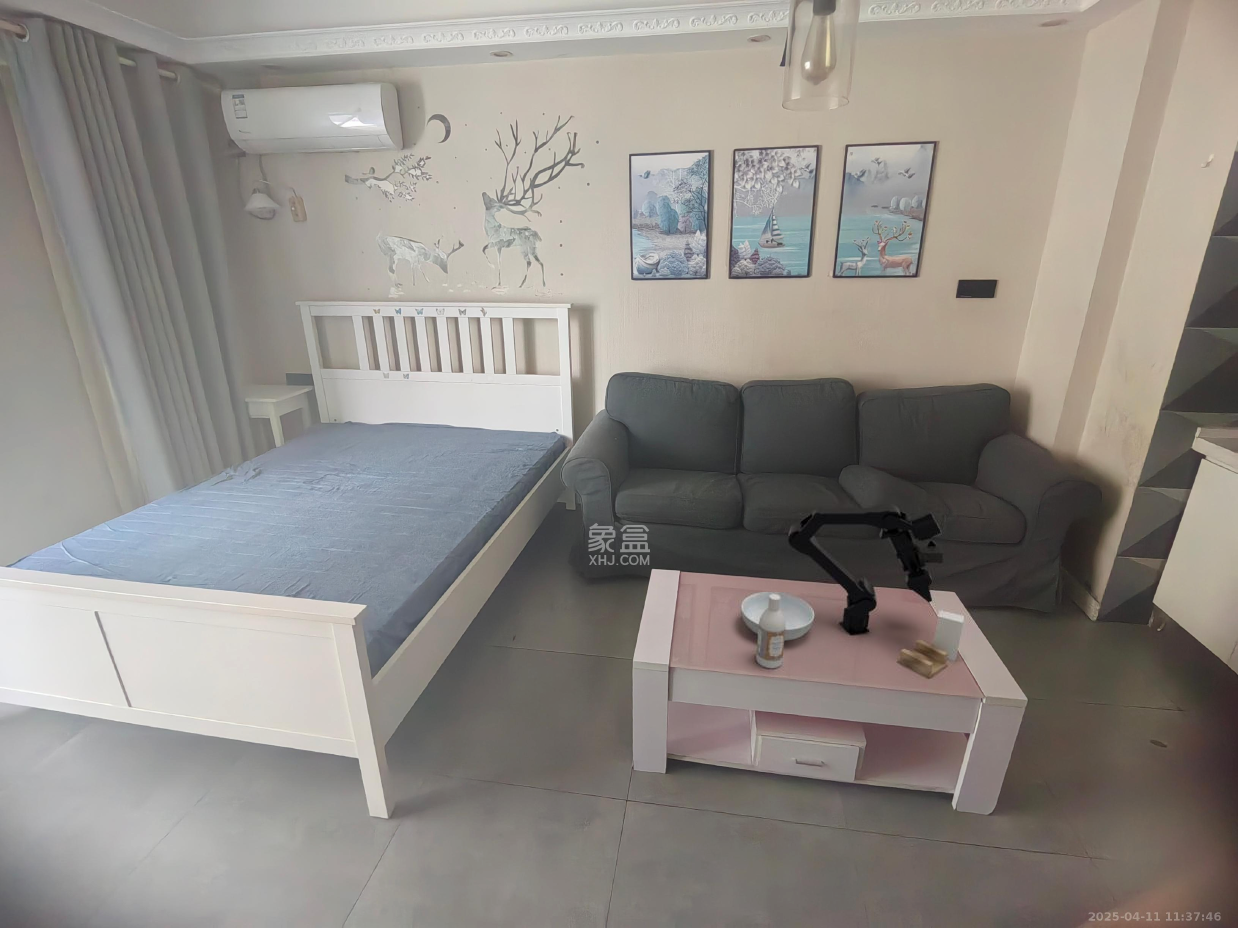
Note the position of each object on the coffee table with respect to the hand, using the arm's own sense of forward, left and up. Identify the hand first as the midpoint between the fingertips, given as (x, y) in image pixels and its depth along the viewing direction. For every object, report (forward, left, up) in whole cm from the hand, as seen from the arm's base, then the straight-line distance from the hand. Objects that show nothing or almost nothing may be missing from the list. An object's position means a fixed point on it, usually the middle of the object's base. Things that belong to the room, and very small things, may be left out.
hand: (928, 593), depth 173 cm
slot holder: (-7, -10, -15) cm, 20 cm away
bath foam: (-47, 0, -15) cm, 50 cm away
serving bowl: (-38, +14, -15) cm, 44 cm away
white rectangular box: (+2, -8, -15) cm, 17 cm away
